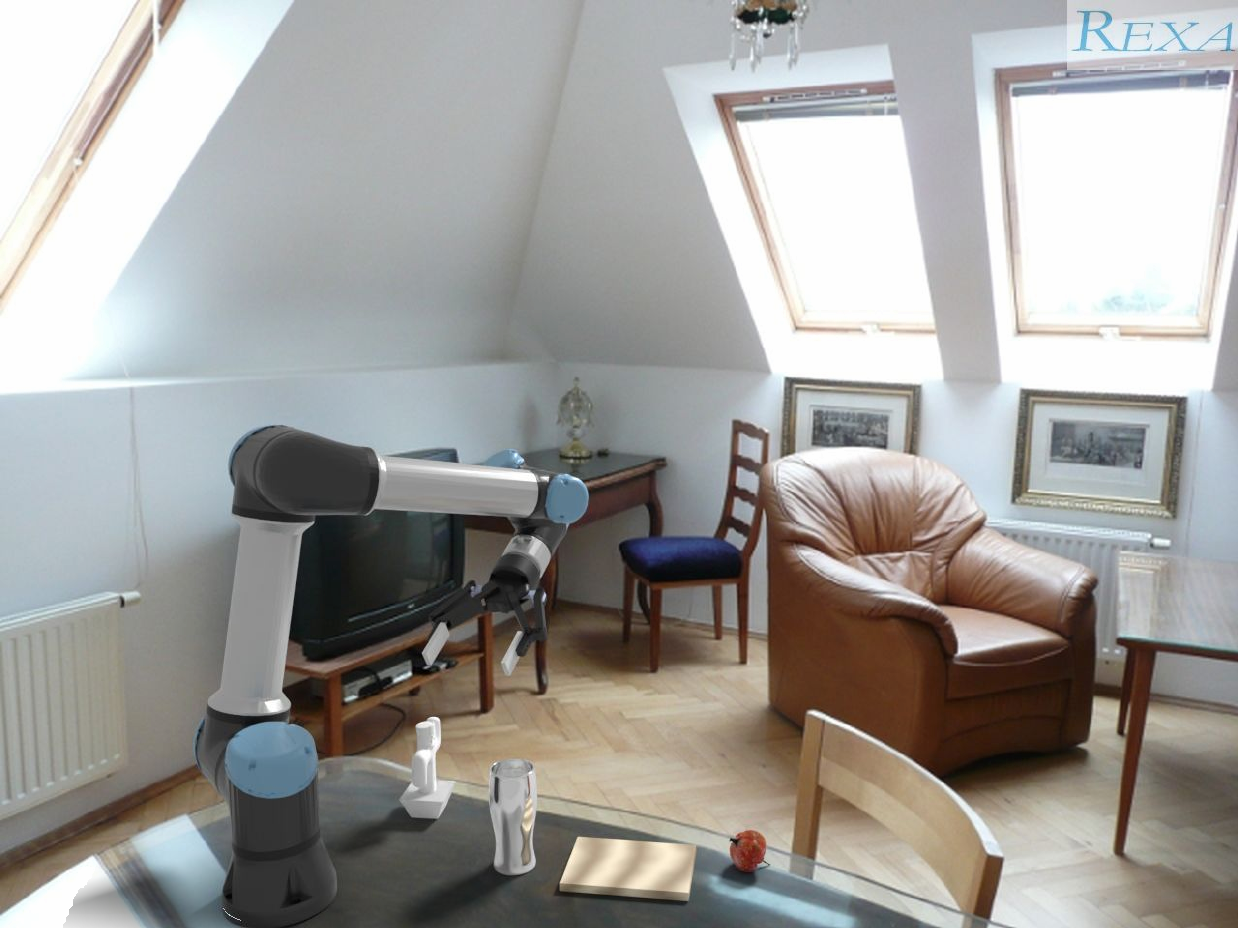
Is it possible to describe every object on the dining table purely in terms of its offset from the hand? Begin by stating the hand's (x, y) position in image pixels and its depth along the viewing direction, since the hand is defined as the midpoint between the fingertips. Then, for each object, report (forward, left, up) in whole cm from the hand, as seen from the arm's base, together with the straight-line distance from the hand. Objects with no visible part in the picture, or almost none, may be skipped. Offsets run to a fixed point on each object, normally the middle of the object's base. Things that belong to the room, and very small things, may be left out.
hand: (465, 664), depth 156 cm
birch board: (+26, -6, -28) cm, 38 cm away
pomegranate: (+43, -3, -28) cm, 51 cm away
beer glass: (+9, -7, -28) cm, 30 cm away
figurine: (-9, +7, -28) cm, 30 cm away
